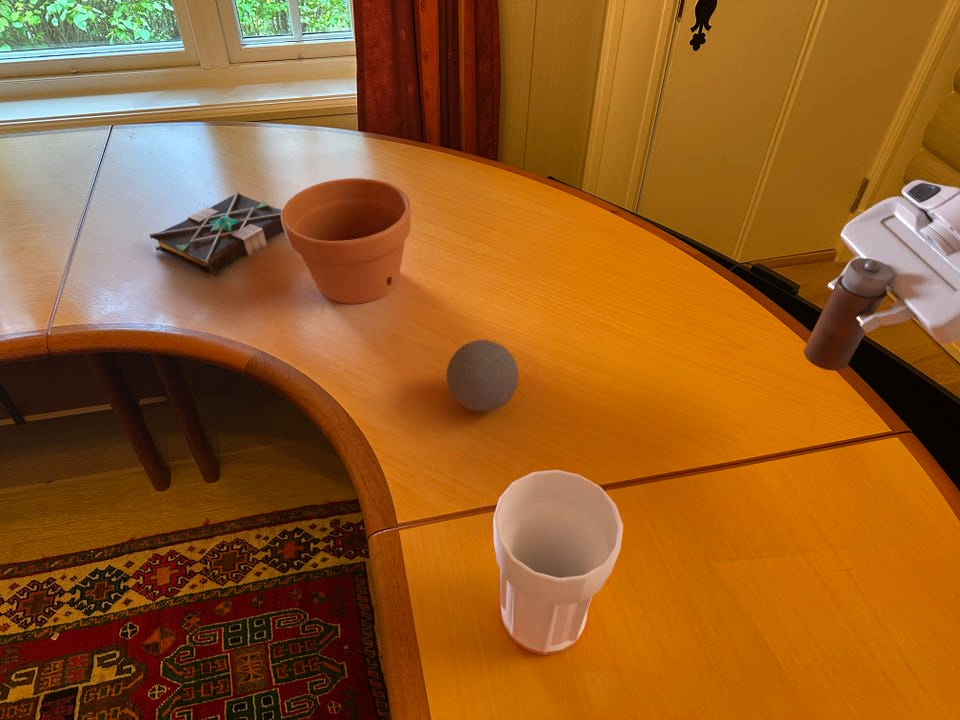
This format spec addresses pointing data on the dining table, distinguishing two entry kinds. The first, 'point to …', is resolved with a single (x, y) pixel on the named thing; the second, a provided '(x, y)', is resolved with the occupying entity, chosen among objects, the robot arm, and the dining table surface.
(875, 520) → the dining table surface
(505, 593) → the cup
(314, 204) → the flower pot
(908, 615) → the dining table surface
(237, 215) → the book
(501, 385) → the decorative ball
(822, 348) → the pepper mill
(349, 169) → the dining table surface
